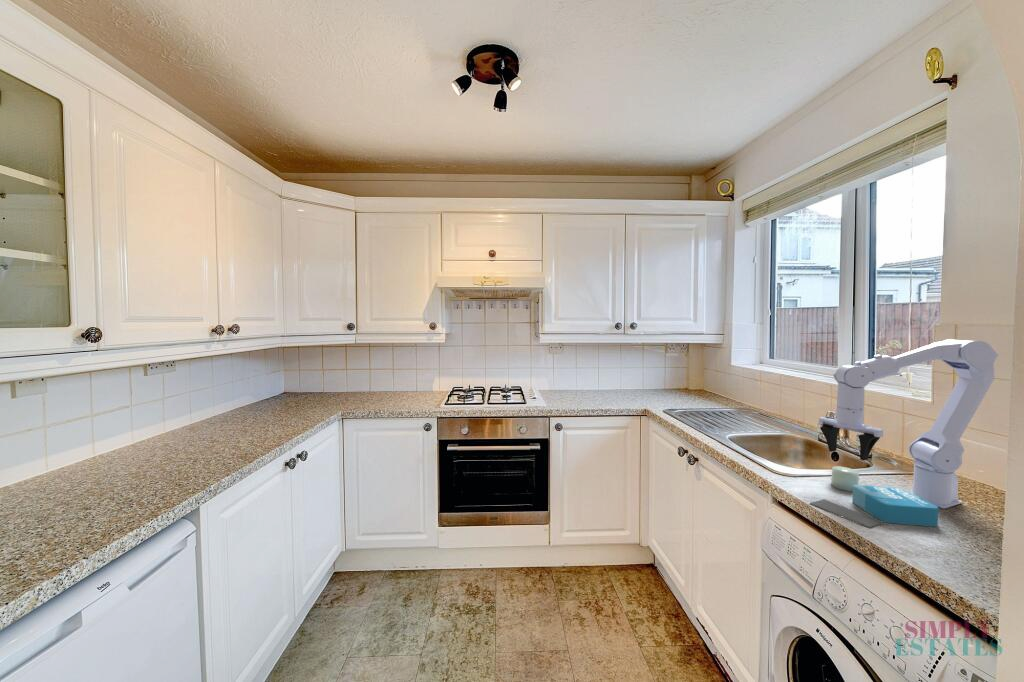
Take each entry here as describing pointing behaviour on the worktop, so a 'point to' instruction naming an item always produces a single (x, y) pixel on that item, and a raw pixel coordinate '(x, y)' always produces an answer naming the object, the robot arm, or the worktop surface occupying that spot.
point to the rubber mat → (847, 513)
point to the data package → (895, 505)
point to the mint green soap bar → (844, 478)
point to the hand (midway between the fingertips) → (847, 455)
